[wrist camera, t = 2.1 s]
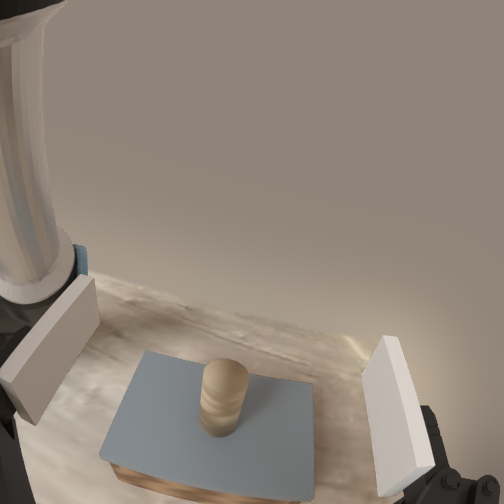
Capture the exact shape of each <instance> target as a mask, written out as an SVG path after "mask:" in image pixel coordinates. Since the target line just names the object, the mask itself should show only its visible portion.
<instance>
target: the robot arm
mask: <svg viewBox="0 0 504 504" xmlns="http://www.w3.org/2000/svg"><path fill="white" fill-rule="evenodd" d="M67 2H68V0H0V504H36V503H35V500H34V497H33V493H32V490H31V487H30V483H29V480H28V476H27V473H26V469H25V465H24V461H23V457H22V453H21V448H20V443H19V439H18V433H17V428H16V423H15V419H14V416H13V415H14V413H15V412H16V411H17V412H18V414H19V415H20V417H21V418H22V419H24V420H25V421H27V422H29V423H31V424H33V425H35V426H36V425H37V423H38V422H39V420H40V418H41V416H42V415H43V413H44V411H45V409H46V408H47V406H48V404H49V403H50V401H51V399H52V398H53V396H54V394H55V393H56V391H57V389H58V388H59V386H60V384H61V383H62V381H63V380H64V378H65V376H66V375H67V373H68V372H69V370H70V368H71V367H72V365H73V364H74V362H75V361H76V359H77V358H78V356H79V354H80V353H81V351H82V350H83V348H84V347H85V345H86V344H87V342H88V341H89V339H90V338H91V336H92V335H93V333H94V332H95V330H96V329H97V327H98V326H99V324H100V318H99V311H98V304H97V297H96V289H95V280H94V277H90V276H88V265H87V251H86V248H85V247H84V246H79V245H77V244H72V241H71V239H70V237H69V236H68V234H67V233H66V232H65V231H64V230H63V229H62V228H60V227H59V226H57V225H56V221H55V215H54V209H53V204H52V197H51V191H50V184H49V177H48V169H47V160H46V149H45V138H44V123H43V99H42V98H43V96H42V70H43V45H44V31H45V25H46V22H47V21H48V20H49V19H50V18H51V17H52V16H53V15H54V14H55V13H56V12H57V11H58V10H59V9H60V8H62V6H64V5H65V4H66V3H67ZM361 380H362V386H363V391H364V397H365V403H366V409H367V415H368V421H369V428H370V435H371V442H372V449H373V456H374V464H375V472H376V481H377V490H378V497H386V496H395V495H397V494H398V493H400V492H401V491H403V492H404V497H402V498H401V499H399V500H398V501H397V502H395V503H394V504H498V503H499V495H500V485H499V483H498V481H497V480H496V478H495V477H493V476H491V475H485V476H483V477H481V478H480V479H479V480H477V481H476V480H470V479H465V478H461V476H460V474H459V473H458V472H457V471H456V470H455V469H452V468H450V466H449V464H448V460H447V456H446V452H445V448H444V445H443V441H442V437H441V436H440V430H439V428H438V424H437V420H436V417H435V414H434V413H433V412H432V410H431V409H430V407H429V406H420V405H419V401H418V398H417V395H416V391H415V388H414V385H413V382H412V378H411V376H410V372H409V369H408V366H407V363H406V361H405V357H404V354H403V351H402V349H401V346H400V343H399V340H398V337H393V336H384V335H383V336H382V338H381V340H380V342H379V344H378V346H377V348H376V349H375V351H374V353H373V355H372V357H371V358H370V360H369V362H368V364H367V366H366V367H365V369H364V371H363V372H362V374H361Z"/></svg>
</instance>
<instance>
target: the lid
mask: <svg viewBox="0 0 504 504" xmlns="http://www.w3.org/2000/svg"><path fill="white" fill-rule="evenodd" d="M99 455H100V457H101V459H103V460H105V461H108V462H111V463H113V464H116V465H119V466H122V467H125V468H128V469H131V470H134V471H137V472H140V473H143V474H146V475H150V476H153V477H157V478H160V479H164V480H167V481H171V482H175V483H179V484H183V485H188V486H192V487H197V488H201V489H206V490H211V491H216V492H222V493H228V494H234V495H241V496H248V497H255V498H264V499H274V500H286V501H302V502H310V501H311V500H312V499H314V415H313V385H312V384H311V383H303V382H296V381H289V380H283V379H276V378H270V377H264V376H259V375H253V374H248V371H247V370H246V368H245V367H244V366H243V365H241V364H240V363H238V362H236V361H234V360H230V359H217V360H214V361H212V362H210V363H209V364H207V365H204V364H199V363H195V362H190V361H186V360H182V359H178V358H174V357H170V356H166V355H162V354H158V353H155V352H151V351H147V350H146V351H145V353H144V355H143V357H142V359H141V361H140V363H139V365H138V367H137V369H136V372H135V374H134V376H133V378H132V380H131V382H130V384H129V387H128V389H127V391H126V393H125V395H124V397H123V400H122V402H121V404H120V406H119V408H118V411H117V413H116V415H115V417H114V420H113V422H112V424H111V426H110V429H109V431H108V433H107V436H106V438H105V440H104V443H103V445H102V447H101V450H100V452H99Z"/></svg>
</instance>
